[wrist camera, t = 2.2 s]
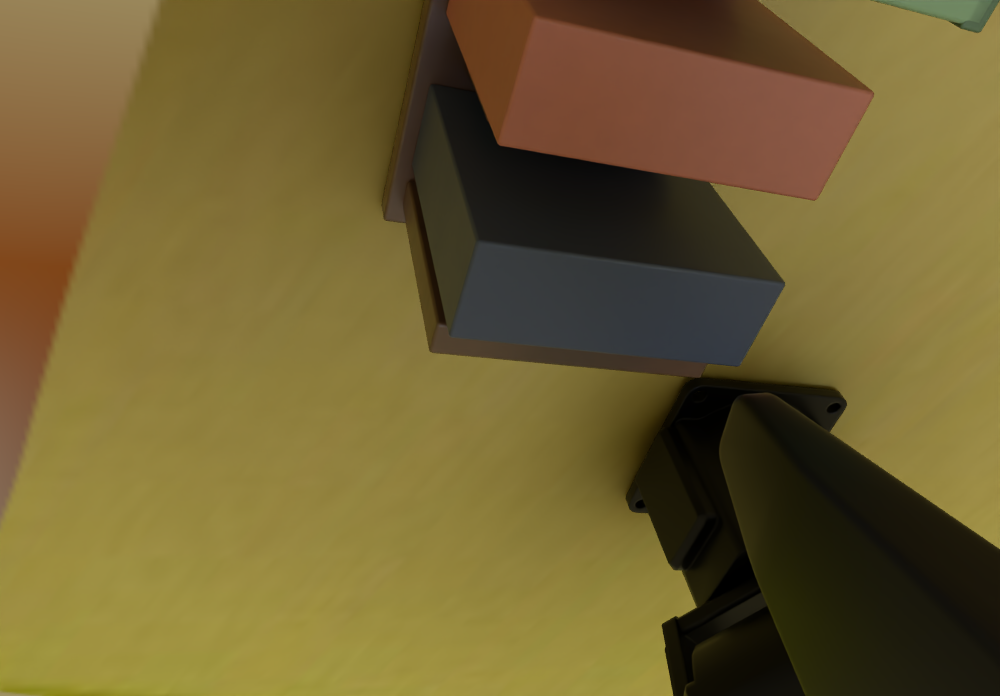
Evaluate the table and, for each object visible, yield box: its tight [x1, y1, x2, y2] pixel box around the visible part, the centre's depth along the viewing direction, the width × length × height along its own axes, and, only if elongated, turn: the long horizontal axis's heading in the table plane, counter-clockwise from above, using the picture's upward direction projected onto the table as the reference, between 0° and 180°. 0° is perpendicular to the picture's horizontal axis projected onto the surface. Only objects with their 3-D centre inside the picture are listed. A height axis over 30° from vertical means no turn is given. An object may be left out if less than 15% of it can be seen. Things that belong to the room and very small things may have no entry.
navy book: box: [412, 84, 785, 366], centre depth 19 cm, size 6×2×7 cm, turn 74°
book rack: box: [382, 0, 707, 378], centre depth 18 cm, size 7×13×7 cm, turn 164°
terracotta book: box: [446, 0, 874, 200], centre depth 17 cm, size 6×2×7 cm, turn 74°
